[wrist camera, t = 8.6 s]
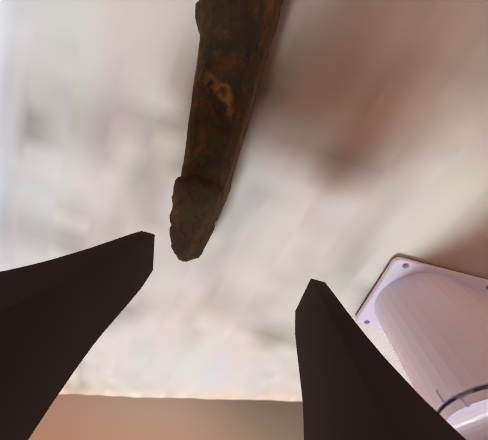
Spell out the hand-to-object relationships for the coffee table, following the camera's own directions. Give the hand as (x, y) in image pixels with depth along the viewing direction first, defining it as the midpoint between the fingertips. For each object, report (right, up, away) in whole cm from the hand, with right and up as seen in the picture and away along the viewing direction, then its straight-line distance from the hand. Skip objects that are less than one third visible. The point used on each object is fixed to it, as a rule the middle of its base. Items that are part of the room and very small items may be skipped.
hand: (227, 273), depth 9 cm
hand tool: (0, +10, +6) cm, 12 cm away
